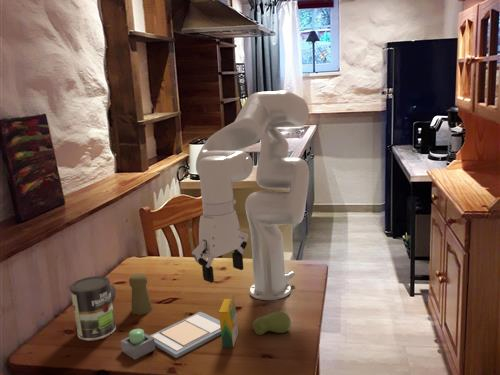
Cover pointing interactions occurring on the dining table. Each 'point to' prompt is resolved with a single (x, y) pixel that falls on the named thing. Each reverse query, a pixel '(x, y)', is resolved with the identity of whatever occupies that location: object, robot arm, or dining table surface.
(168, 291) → the dining table surface
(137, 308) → the cork
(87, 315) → the coffee can
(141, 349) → the button housing
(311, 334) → the dining table surface
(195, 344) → the grey white rectangular board
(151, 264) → the dining table surface
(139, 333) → the button
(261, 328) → the pear
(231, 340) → the crayon box
